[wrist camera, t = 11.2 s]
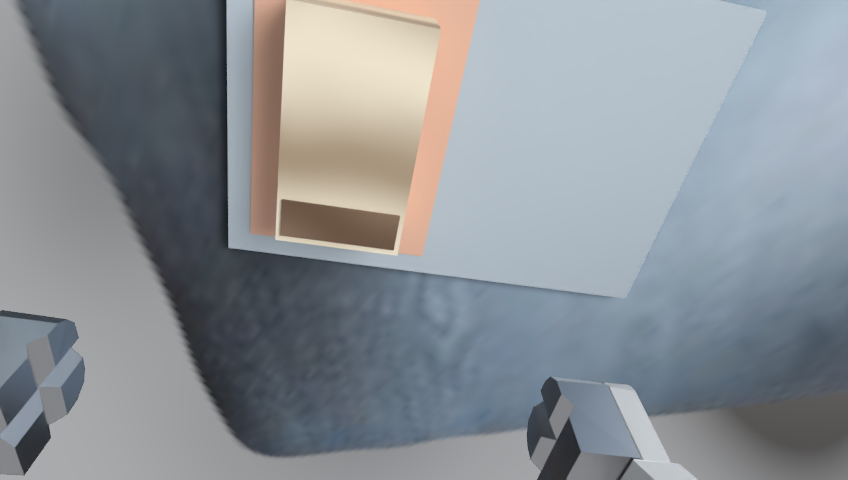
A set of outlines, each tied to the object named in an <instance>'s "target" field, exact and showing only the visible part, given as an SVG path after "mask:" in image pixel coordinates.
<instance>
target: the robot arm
mask: <svg viewBox="0 0 848 480" xmlns="http://www.w3.org/2000/svg"><path fill="white" fill-rule="evenodd" d="M77 339H78V334H77V330H76V326H75V323H74V322H72V321H69V320H67V319H60V318H53V317H46V316H39V315H31V314H25V313H17V312H10V311H4V310H2V311H0V474H7V475H25V474H26V472H27V471H28V469H29V468H30V467H31V465H32V464H33V462H34V461H35V460H36V458H37V457H38V455H39V454H40V453H41V451H42V450H43V448H44V447H45V445H46V444H47V443H48V441H49V440H50V438H51V435H50V429H49V424H51V423H53V422H55V421H57V420H58V419H60V418H62V417H63V416H65V415H67V414H68V413H69V411H70V410H71V408H72V407H73V405H74V404H75V402H76V400H77V399H78V396H79V393H80V391H81V388H82V385H83V382H84V372H85V367H84V361H83V357H81V356H80V355H79V354H78V353H77V352H76V351H75V350H74V349H73V348H72V345H73V344H74V343H75V342H76V340H77ZM541 393H542V397H543V400H544V401H543V402H541V403H540V404H538V405H537V406H535V407H533V410H532V413H531V415H530V418H529V421H528V429H527V443H528V450H529V455H530V459H531V460H532V462H533V463H534V464H535V465H536V466H537V467H538V468H539V469H540V470H541V473H540V475H539V477H538V479H537V480H698V479H696V478H695V477H694V476H693V475H692V474H691V473H689V472H688V471H687V470H686V469H685V468H684V467H683V466H681V465H680V464H677V463H671V461H670V459H669V457H668V455H667V453H666V451H665V449H664V448H663V445H662V443H661V441H660V439H659V437H658V435H657V433H656V432H655V429H654V428H653V425H652V423H651V422H650V419H649V417H648V415H647V413H646V411H645V409H644V407H643V406H642V404H641V402H640V400H639V398H638V396H637V394H636V392H635V390H634V389H633V388H632V387H631V386H630V385H625V384H616V383H607V382H602V383H601V382H596V381H587V380H578V379H569V378H560V377H549V378H548V379H547V380H546V381H545V383H544V385H543V387H542V389H541Z"/></svg>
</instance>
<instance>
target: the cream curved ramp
mask: <svg viewBox="0 0 848 480" xmlns="http://www.w3.org/2000/svg"><path fill="white" fill-rule="evenodd" d="M440 33H441V28H440V26H439V24H438V22H437V20H436V18H433V17H428V16H423V15H418V14H412V13H407V12H402V11H397V10H392V9H387V8H382V7H377V6H372V5H367V4H362V3H357V2H352V1H347V0H286V14H285V36H284V58H283V80H282V102H281V124H280V146H279V168H278V190H277V212H276V234H275V240H280V241H288V242H296V243H303V244H311V245H319V246H326V247H334V248H342V249H349V250H357V251H365V252H372V253H380V254H388V255H395V256H397V255H398V250H399V245H400V239H401V234H402V229H403V224H404V219H405V214H406V208H407V203H408V198H409V193H410V188H411V183H412V177H413V172H414V167H415V162H416V157H417V152H418V146H419V141H420V136H421V131H422V126H423V121H424V115H425V110H426V105H427V100H428V95H429V90H430V84H431V79H432V74H433V69H434V64H435V58H436V53H437V48H438V43H439V38H440Z"/></svg>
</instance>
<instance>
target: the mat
mask: <svg viewBox="0 0 848 480" xmlns="http://www.w3.org/2000/svg"><path fill="white" fill-rule="evenodd" d="M347 1H352V2H357V3H362V4H367V5H372V6H377V7H382V8H387V9H392V10H397V11H402V12H407V13H412V14H418V15H423V16H428V17H433V18H436V20H437V22H438V24H439V26H440V28H441V33H440V38H439V43H438V48H437V53H436V58H435V64H434V69H433V74H432V79H431V84H430V90H429V95H428V100H427V105H426V110H425V115H424V121H423V126H422V131H421V136H420V141H419V146H418V152H417V157H416V162H415V167H414V172H413V177H412V183H411V188H410V193H409V198H408V203H407V208H406V214H405V219H404V224H403V229H402V234H401V239H400V245H399V250H398V255H397V256H395V255H388V254H380V253H372V252H365V251H357V250H349V249H342V248H334V247H326V246H319V245H311V244H303V243H296V242H288V241H280V240H275V234H276V212H277V190H278V168H279V146H280V124H281V102H282V80H283V58H284V36H285V14H286V0H227V126H228V248H234V249H242V250H250V251H258V252H266V253H273V254H281V255H289V256H297V257H305V258H312V259H320V260H328V261H336V262H344V263H351V264H359V265H367V266H375V267H383V268H390V269H398V270H406V271H414V272H421V273H429V274H437V275H445V276H453V277H460V278H468V279H476V280H484V281H492V282H499V283H507V284H515V285H523V286H531V287H538V288H546V289H554V290H562V291H570V292H577V293H585V294H593V295H601V296H608V297H616V298H624V299H626V297H627V295H628V293H629V291H630V289H631V287H632V285H633V283H634V281H635V279H636V277H637V275H638V273H639V271H640V269H641V267H642V265H643V263H644V261H645V259H646V257H647V255H648V252H649V250H650V248H651V246H652V244H653V242H654V240H655V238H656V236H657V234H658V232H659V230H660V228H661V226H662V224H663V222H664V220H665V218H666V216H667V214H668V212H669V210H670V208H671V206H672V204H673V202H674V200H675V198H676V196H677V194H678V192H679V190H680V188H681V186H682V184H683V182H684V180H685V178H686V176H687V174H688V172H689V170H690V168H691V166H692V164H693V162H694V160H695V158H696V156H697V154H698V152H699V150H700V148H701V146H702V144H703V142H704V140H705V138H706V136H707V134H708V132H709V129H710V127H711V125H712V123H713V121H714V119H715V117H716V115H717V113H718V111H719V109H720V107H721V105H722V103H723V101H724V99H725V97H726V95H727V93H728V91H729V89H730V87H731V85H732V83H733V81H734V79H735V77H736V75H737V73H738V71H739V69H740V67H741V65H742V63H743V61H744V59H745V57H746V55H747V53H748V51H749V49H750V47H751V45H752V43H753V41H754V39H755V37H756V35H757V33H758V31H759V29H760V27H761V25H762V23H763V21H764V19H765V17H766V15H767V13H768V11H765V10H760V9H756V8H751V7H747V6H743V5H738V4H734V3H729V2H725V1H720V0H347Z"/></svg>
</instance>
